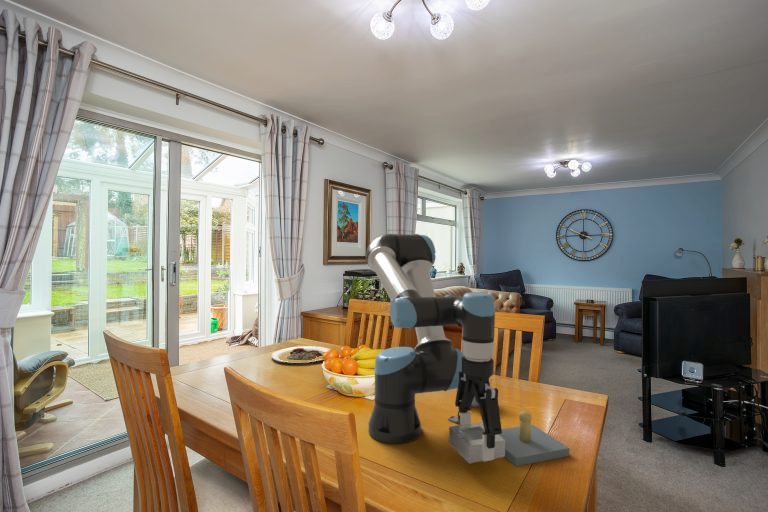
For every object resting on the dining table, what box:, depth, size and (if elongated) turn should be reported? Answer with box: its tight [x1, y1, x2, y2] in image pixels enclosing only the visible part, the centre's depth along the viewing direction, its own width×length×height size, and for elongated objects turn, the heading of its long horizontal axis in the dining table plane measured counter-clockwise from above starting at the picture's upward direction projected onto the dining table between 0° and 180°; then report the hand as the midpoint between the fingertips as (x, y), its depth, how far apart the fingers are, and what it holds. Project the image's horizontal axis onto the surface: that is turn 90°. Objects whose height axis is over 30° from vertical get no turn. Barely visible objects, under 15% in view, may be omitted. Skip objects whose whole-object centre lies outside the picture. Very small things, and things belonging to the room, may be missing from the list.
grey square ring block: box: [448, 421, 506, 464], centre depth 93 cm, size 10×10×4 cm
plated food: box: [271, 345, 331, 364], centre depth 189 cm, size 30×30×3 cm
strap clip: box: [447, 410, 460, 425], centre depth 116 cm, size 8×3×4 cm, turn 42°
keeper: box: [498, 410, 570, 467], centre depth 101 cm, size 16×14×10 cm
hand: (475, 448), depth 93 cm, fingers closed on grey square ring block, 10 cm apart
